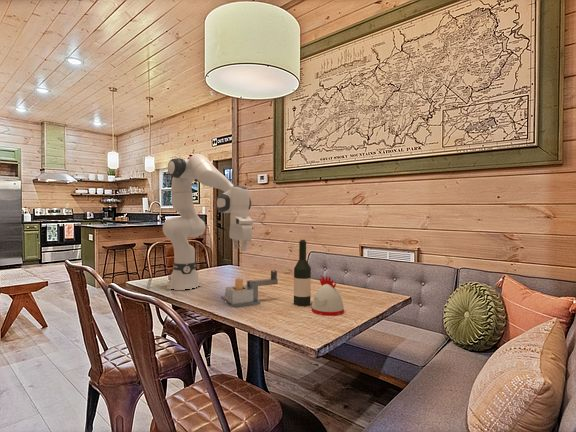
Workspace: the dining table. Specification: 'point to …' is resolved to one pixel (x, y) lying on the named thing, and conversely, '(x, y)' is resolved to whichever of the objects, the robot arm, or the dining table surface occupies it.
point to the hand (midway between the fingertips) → (239, 249)
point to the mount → (242, 295)
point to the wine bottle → (302, 278)
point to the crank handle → (267, 280)
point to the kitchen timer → (327, 299)
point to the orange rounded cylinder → (238, 284)
